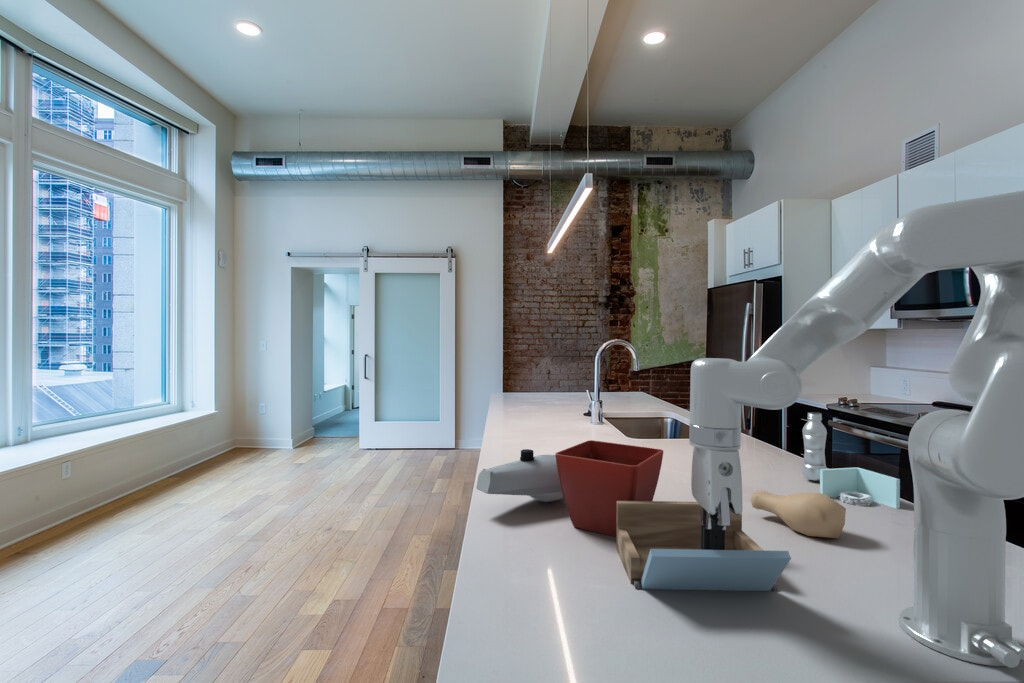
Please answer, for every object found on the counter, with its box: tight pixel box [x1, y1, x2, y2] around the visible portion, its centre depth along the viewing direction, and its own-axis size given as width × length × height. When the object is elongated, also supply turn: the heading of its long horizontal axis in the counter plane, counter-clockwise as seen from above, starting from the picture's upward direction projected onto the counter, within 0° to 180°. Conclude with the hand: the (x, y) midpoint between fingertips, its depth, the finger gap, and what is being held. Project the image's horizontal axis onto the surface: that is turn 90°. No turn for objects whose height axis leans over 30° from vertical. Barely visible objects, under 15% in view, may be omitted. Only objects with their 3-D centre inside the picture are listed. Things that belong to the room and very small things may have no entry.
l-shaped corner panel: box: [819, 466, 901, 510], centre depth 130 cm, size 12×12×8 cm
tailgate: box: [640, 549, 792, 592], centre depth 81 cm, size 1×21×11 cm
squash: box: [749, 489, 847, 539], centre depth 112 cm, size 11×20×9 cm, turn 31°
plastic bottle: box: [801, 412, 828, 482], centre depth 150 cm, size 6×7×20 cm
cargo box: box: [615, 500, 778, 592], centre depth 92 cm, size 16×24×10 cm
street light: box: [475, 448, 564, 503], centre depth 128 cm, size 30×16×14 cm, turn 127°
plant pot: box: [554, 440, 664, 538], centre depth 114 cm, size 19×19×17 cm
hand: (712, 551), depth 79 cm, fingers closed
